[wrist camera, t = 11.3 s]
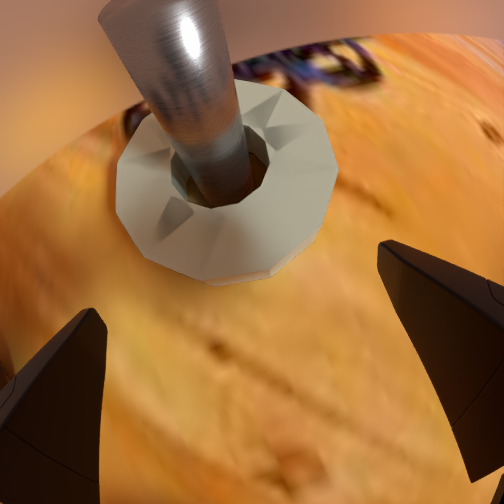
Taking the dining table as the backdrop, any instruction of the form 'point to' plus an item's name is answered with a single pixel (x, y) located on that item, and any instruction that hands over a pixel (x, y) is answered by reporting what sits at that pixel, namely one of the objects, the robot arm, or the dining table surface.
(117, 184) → the grey ring
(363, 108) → the dining table surface
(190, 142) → the metal peg
